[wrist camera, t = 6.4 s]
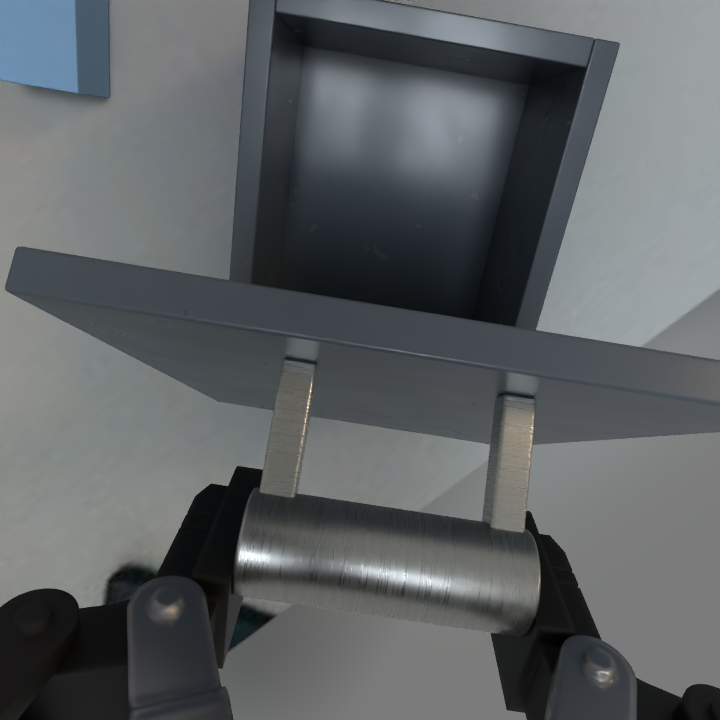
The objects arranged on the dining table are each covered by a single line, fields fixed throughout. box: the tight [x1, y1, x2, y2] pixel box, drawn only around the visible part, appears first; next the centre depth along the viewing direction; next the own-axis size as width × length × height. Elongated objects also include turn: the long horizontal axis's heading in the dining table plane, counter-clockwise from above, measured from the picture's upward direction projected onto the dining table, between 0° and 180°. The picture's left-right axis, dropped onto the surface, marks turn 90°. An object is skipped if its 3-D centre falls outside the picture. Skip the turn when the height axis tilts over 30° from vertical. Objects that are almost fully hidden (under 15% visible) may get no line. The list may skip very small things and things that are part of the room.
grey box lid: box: [5, 247, 720, 637], centre depth 18 cm, size 18×14×5 cm
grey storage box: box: [229, 0, 620, 330], centre depth 29 cm, size 17×14×10 cm
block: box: [0, 0, 109, 97], centre depth 29 cm, size 5×5×4 cm
